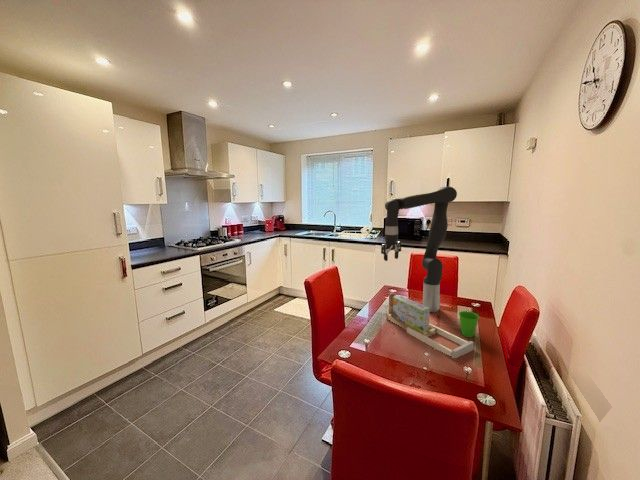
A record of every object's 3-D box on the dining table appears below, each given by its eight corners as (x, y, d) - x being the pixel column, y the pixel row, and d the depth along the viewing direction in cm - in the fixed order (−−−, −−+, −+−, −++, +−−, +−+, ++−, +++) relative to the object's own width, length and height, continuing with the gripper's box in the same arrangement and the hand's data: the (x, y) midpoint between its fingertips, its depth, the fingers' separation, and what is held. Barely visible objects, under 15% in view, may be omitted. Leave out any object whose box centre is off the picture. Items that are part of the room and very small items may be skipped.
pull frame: (396, 312, 161) (396, 291, 159) (436, 333, 137) (437, 307, 135) (383, 317, 156) (383, 294, 154) (422, 339, 132) (423, 312, 130)
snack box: (391, 321, 152) (392, 296, 149) (399, 318, 154) (399, 294, 152) (422, 338, 133) (423, 310, 131) (429, 335, 136) (430, 307, 133)
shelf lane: (424, 326, 145) (424, 319, 145) (473, 350, 122) (473, 342, 121) (406, 333, 139) (406, 325, 138) (454, 360, 116) (455, 351, 115)
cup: (476, 342, 128) (478, 321, 127) (455, 336, 134) (457, 316, 132) (479, 333, 136) (480, 313, 134) (459, 329, 141) (460, 309, 139)
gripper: (387, 235, 153) (386, 262, 156) (404, 232, 160) (404, 259, 162) (378, 233, 159) (378, 260, 162) (395, 231, 166) (395, 256, 169)
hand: (391, 259), depth 162 cm, fingers open, 8 cm apart
